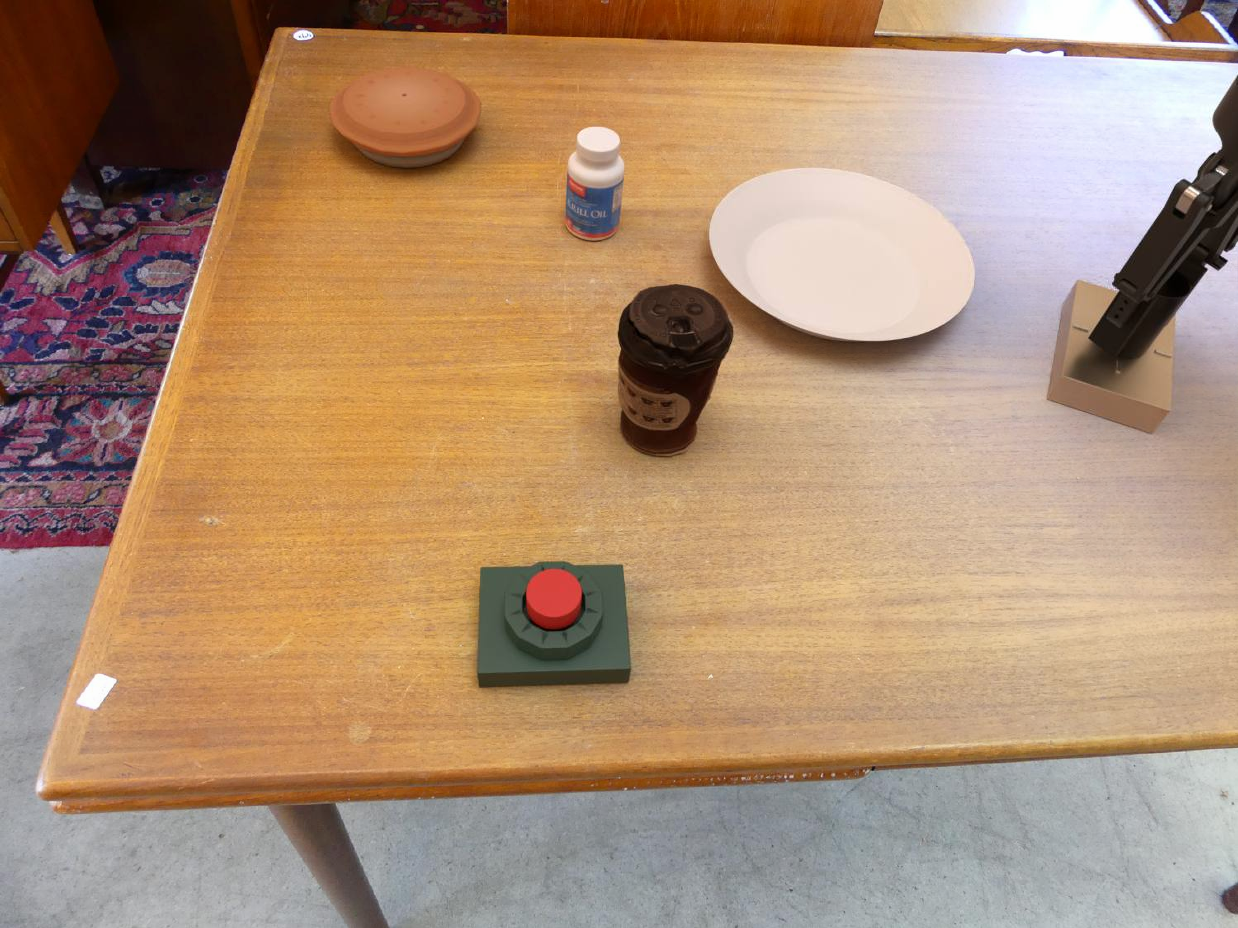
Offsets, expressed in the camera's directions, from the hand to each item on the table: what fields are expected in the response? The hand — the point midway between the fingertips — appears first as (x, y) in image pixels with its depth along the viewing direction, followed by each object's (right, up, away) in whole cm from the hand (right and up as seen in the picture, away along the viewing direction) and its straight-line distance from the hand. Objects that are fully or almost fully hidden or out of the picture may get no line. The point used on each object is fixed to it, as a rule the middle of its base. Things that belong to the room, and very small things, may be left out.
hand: (1127, 331), depth 81 cm
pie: (-67, +23, +18) cm, 73 cm away
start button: (-49, -21, -20) cm, 57 cm away
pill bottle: (-48, +12, +11) cm, 50 cm away
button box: (-49, -23, -17) cm, 57 cm away
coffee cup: (-42, -9, -5) cm, 43 cm away
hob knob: (0, -1, +1) cm, 1 cm away
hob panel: (0, -2, +3) cm, 4 cm away
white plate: (-24, +6, +8) cm, 26 cm away
